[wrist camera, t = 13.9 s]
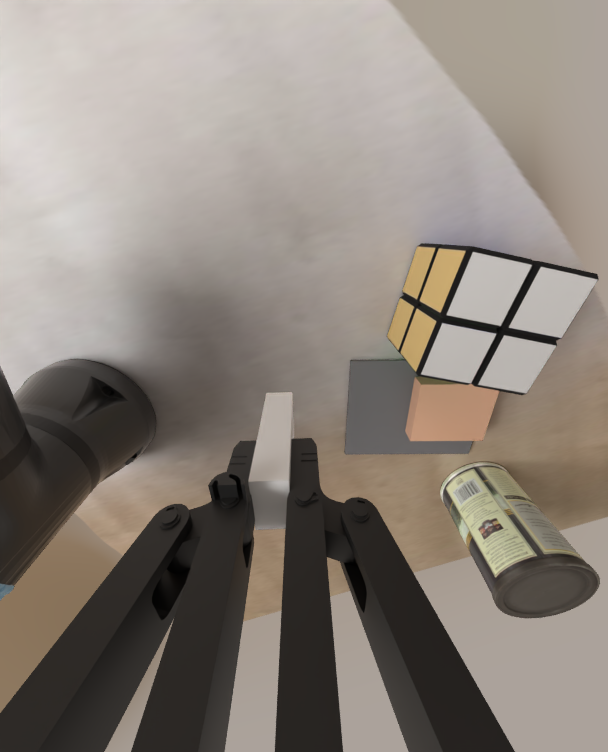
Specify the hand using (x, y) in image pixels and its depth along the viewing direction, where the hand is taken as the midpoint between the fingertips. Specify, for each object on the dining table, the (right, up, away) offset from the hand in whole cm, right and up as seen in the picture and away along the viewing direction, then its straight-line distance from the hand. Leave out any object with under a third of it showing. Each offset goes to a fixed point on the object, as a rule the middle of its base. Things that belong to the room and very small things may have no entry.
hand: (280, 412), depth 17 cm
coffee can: (+27, -14, +26) cm, 40 cm away
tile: (+15, -2, +18) cm, 23 cm away
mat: (+15, -2, +19) cm, 25 cm away
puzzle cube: (+16, +10, +14) cm, 24 cm away
